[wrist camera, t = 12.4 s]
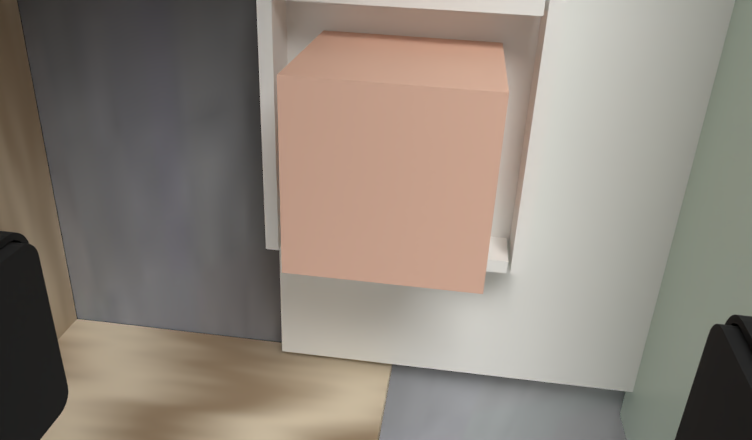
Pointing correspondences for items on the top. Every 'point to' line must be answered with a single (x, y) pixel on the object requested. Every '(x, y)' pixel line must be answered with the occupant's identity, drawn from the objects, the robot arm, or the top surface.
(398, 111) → the block
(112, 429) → the caddy
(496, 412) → the top surface
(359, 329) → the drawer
